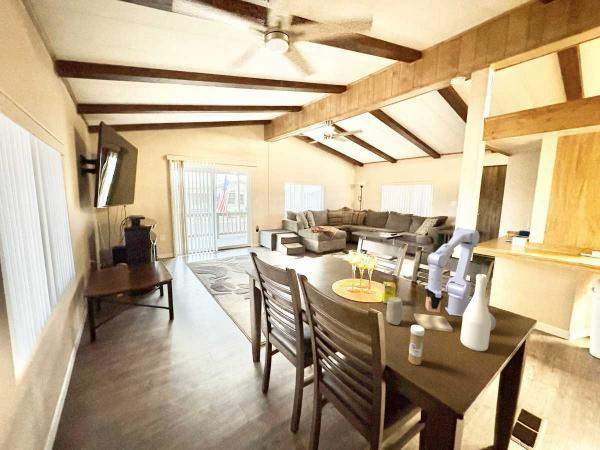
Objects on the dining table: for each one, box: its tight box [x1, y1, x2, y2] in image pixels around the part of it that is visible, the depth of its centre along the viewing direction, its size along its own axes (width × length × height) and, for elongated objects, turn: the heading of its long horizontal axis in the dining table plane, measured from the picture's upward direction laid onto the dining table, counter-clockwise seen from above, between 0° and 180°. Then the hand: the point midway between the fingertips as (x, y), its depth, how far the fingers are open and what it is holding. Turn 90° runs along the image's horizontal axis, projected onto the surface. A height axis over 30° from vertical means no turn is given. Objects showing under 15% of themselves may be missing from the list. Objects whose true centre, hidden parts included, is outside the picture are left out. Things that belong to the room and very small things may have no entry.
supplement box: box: [382, 281, 397, 305], centre depth 146 cm, size 6×6×11 cm
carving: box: [385, 296, 404, 326], centre depth 124 cm, size 6×8×12 cm
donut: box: [489, 312, 497, 332], centre depth 118 cm, size 10×4×10 cm, turn 63°
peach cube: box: [425, 296, 441, 313], centre depth 124 cm, size 5×5×5 cm
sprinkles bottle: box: [407, 324, 425, 366], centre depth 96 cm, size 5×5×14 cm
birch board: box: [413, 313, 454, 333], centre depth 124 cm, size 14×12×1 cm
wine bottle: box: [459, 273, 491, 352], centre depth 105 cm, size 10×10×30 cm
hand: (432, 306), depth 124 cm, fingers closed on peach cube, 5 cm apart
